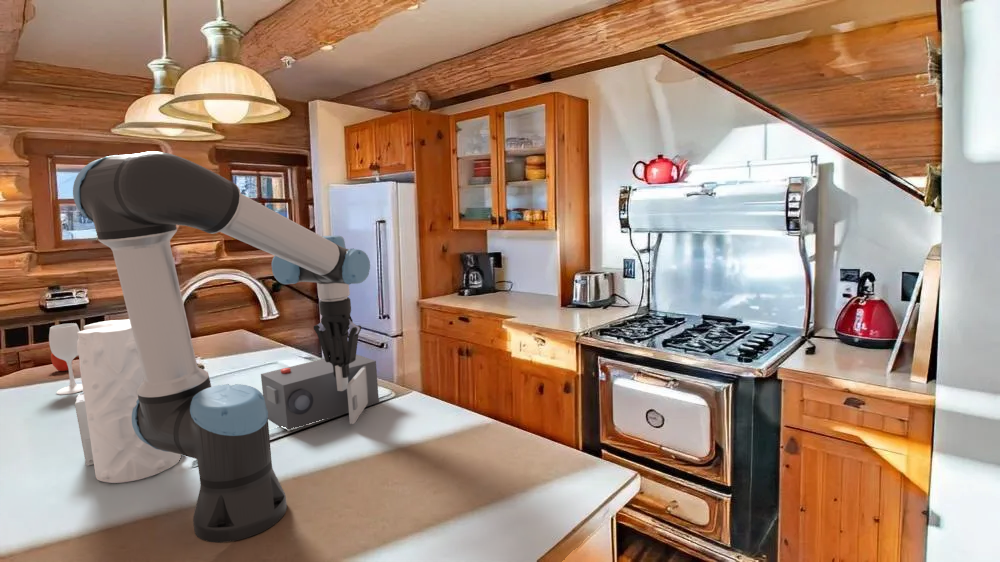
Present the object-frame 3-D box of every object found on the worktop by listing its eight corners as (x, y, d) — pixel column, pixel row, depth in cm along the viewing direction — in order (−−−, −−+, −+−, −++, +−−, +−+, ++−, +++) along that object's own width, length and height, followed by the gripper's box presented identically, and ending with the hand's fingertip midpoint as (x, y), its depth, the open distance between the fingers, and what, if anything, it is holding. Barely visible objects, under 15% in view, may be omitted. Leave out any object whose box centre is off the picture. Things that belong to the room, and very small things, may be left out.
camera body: (383, 404, 154) (379, 359, 152) (289, 435, 135) (284, 384, 133) (353, 391, 165) (349, 349, 163) (263, 418, 147) (258, 371, 145)
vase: (83, 493, 111) (59, 336, 106) (102, 460, 125) (82, 321, 121) (180, 473, 117) (161, 325, 113) (188, 444, 132) (171, 312, 128)
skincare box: (117, 459, 125) (107, 396, 123) (84, 467, 122) (74, 402, 120) (117, 446, 132) (108, 386, 130) (86, 453, 129) (76, 392, 127)
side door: (371, 401, 152) (368, 366, 150) (356, 423, 137) (353, 384, 135) (365, 401, 152) (362, 366, 150) (349, 424, 137) (346, 385, 135)
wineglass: (76, 394, 172) (66, 328, 169) (49, 395, 172) (38, 329, 169) (97, 385, 180) (87, 322, 177) (70, 386, 181) (60, 322, 178)
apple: (48, 373, 196) (44, 352, 195) (64, 367, 203) (61, 347, 201) (63, 373, 195) (60, 352, 194) (79, 368, 201) (76, 348, 200)
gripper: (365, 296, 139) (373, 386, 143) (322, 294, 143) (331, 382, 147) (347, 302, 132) (355, 396, 136) (302, 300, 136) (312, 392, 140)
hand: (343, 389), depth 141 cm, fingers closed
